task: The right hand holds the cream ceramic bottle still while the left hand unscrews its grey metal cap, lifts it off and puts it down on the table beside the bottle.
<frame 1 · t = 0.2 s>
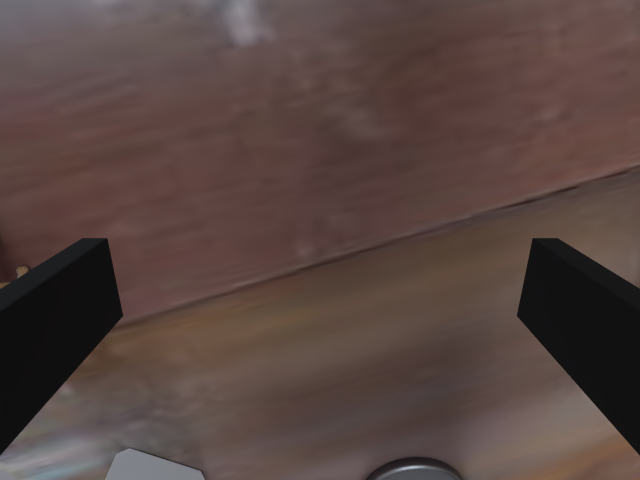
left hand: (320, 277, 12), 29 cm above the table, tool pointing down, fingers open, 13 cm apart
electronic device: (158, 474, 55), on the table
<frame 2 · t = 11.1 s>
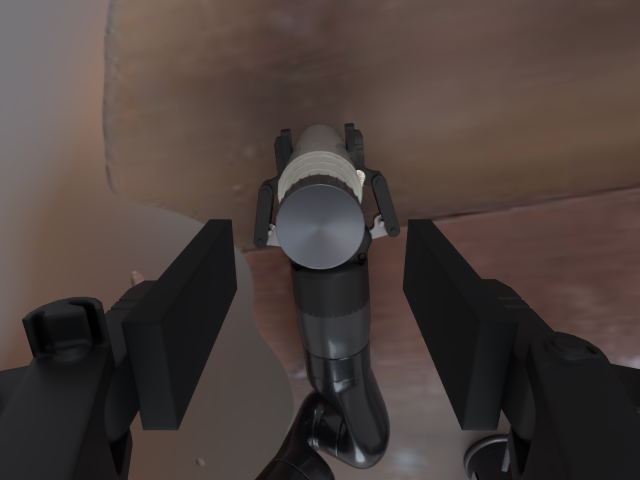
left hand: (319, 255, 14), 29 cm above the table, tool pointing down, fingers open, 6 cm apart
right hand: (316, 127, 34), fingers closed on bottle, 5 cm apart
cap: (320, 226, 17), point 25 cm above the table, screwed on, not yet turned
bottle: (320, 148, 41), on the table, touching right hand
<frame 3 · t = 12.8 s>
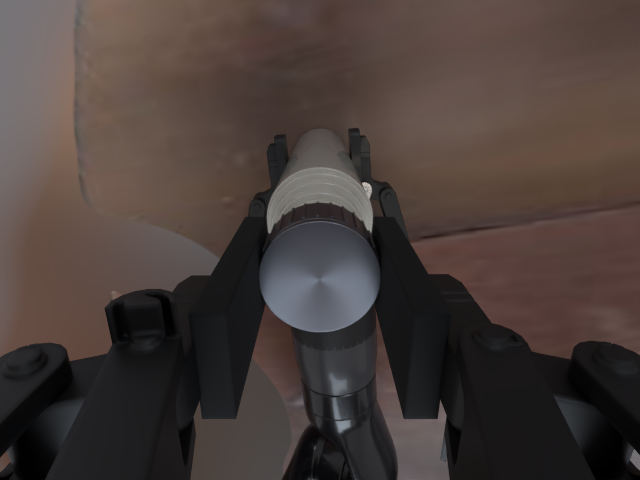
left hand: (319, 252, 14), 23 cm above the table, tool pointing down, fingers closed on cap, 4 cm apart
right hand: (316, 133, 29), fingers closed on bottle, 5 cm apart
cap: (319, 275, 13), point 25 cm above the table, screwed on, not yet turned, touching left hand
bottle: (319, 155, 36), on the table, touching right hand
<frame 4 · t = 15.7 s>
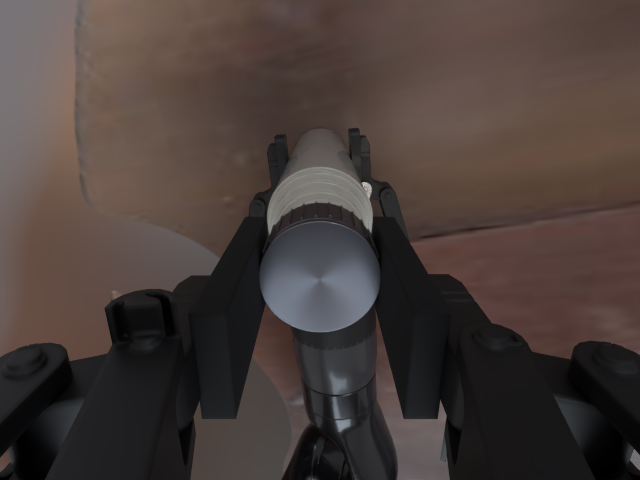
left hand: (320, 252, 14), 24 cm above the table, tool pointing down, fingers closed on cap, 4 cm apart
right hand: (316, 133, 29), fingers closed on bottle, 5 cm apart
cap: (319, 275, 13), point 26 cm above the table, turned 79° so far, risen 0.1 cm, still on its thread, touching left hand
bottle: (320, 155, 36), on the table, touching right hand
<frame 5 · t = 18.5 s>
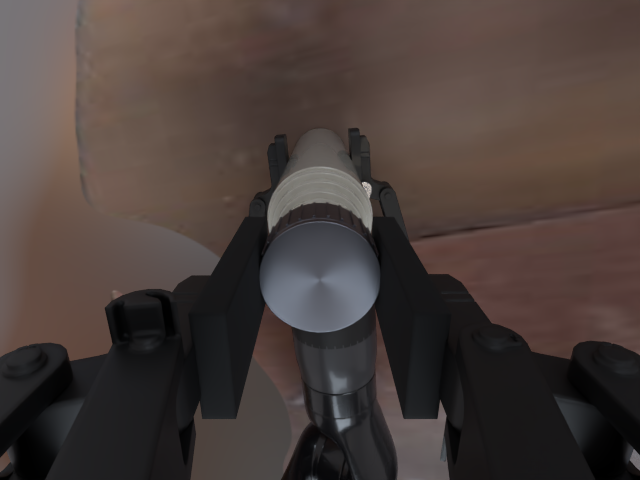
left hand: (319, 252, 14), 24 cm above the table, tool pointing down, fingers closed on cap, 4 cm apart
right hand: (316, 133, 29), fingers closed on bottle, 5 cm apart
cap: (320, 276, 13), point 26 cm above the table, turned 158° so far, risen 0.2 cm, still on its thread, touching left hand
bottle: (320, 155, 36), on the table, touching right hand
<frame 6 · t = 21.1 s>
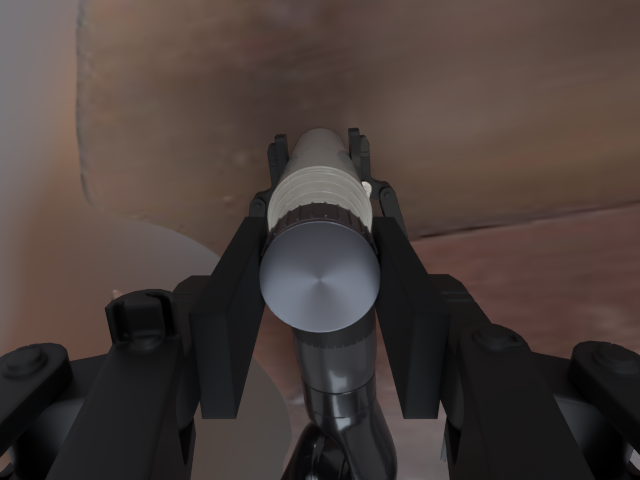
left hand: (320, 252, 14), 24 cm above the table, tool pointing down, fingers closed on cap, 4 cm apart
right hand: (316, 133, 29), fingers closed on bottle, 5 cm apart
cap: (319, 275, 13), point 26 cm above the table, turned 237° so far, risen 0.3 cm, still on its thread, touching left hand
bottle: (319, 155, 37), on the table, touching right hand
when the left hand's fingers open (1 cm above the table, at t = 33.7 s): cap drops 1 cm, point 2 cm above the table.
when the right hand's fingers open (7 cm above the table, at t = 35.0 s): bottle stays where it is, on the table.
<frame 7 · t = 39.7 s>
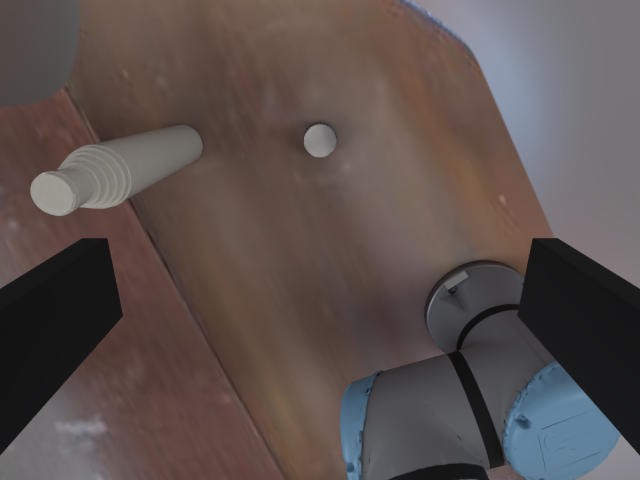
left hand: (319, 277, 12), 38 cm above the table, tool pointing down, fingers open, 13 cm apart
cap: (320, 140, 46), point 2 cm above the table, off its thread
bottle: (183, 144, 48), on the table
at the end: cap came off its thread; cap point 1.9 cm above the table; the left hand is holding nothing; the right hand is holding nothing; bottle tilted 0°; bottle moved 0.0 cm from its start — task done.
